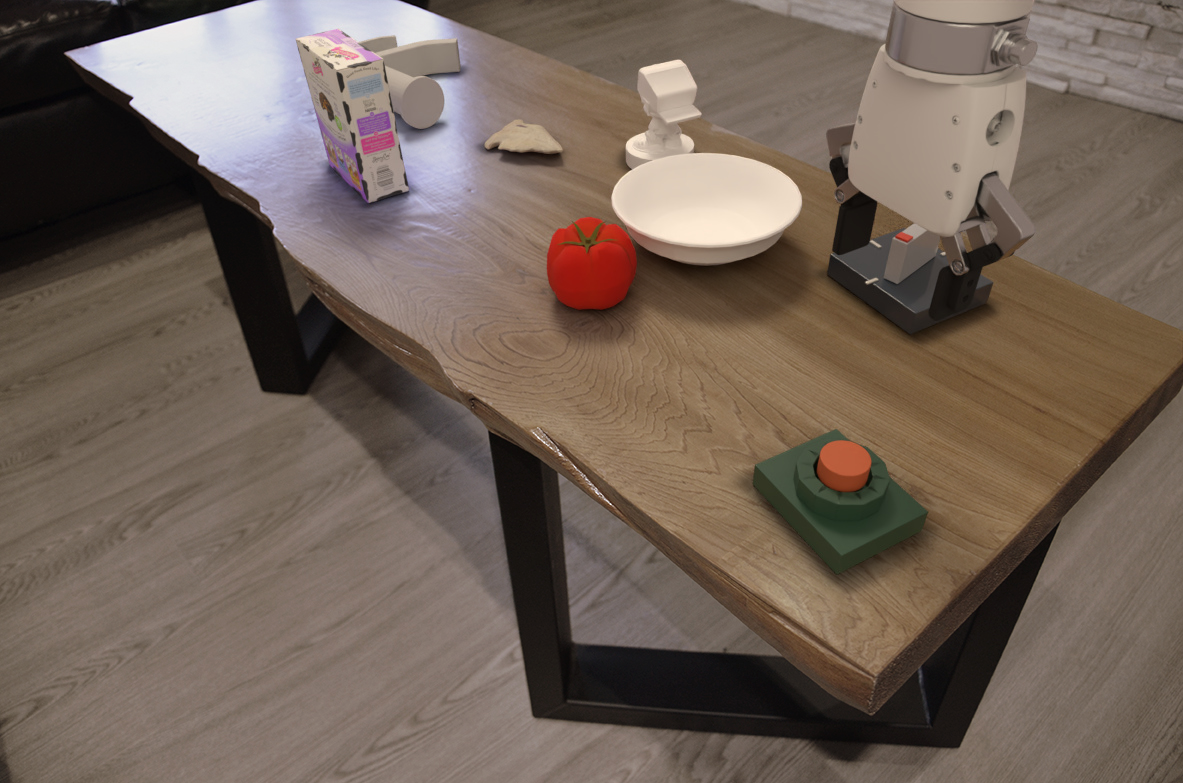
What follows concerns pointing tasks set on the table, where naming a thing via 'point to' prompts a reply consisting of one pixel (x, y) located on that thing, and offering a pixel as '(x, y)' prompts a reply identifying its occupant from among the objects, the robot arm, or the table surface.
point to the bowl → (706, 207)
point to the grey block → (910, 252)
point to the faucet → (416, 75)
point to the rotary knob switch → (896, 300)
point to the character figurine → (664, 112)
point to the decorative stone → (524, 139)
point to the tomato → (591, 264)
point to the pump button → (843, 466)
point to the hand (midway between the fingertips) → (896, 279)
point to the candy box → (354, 113)
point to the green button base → (838, 505)
